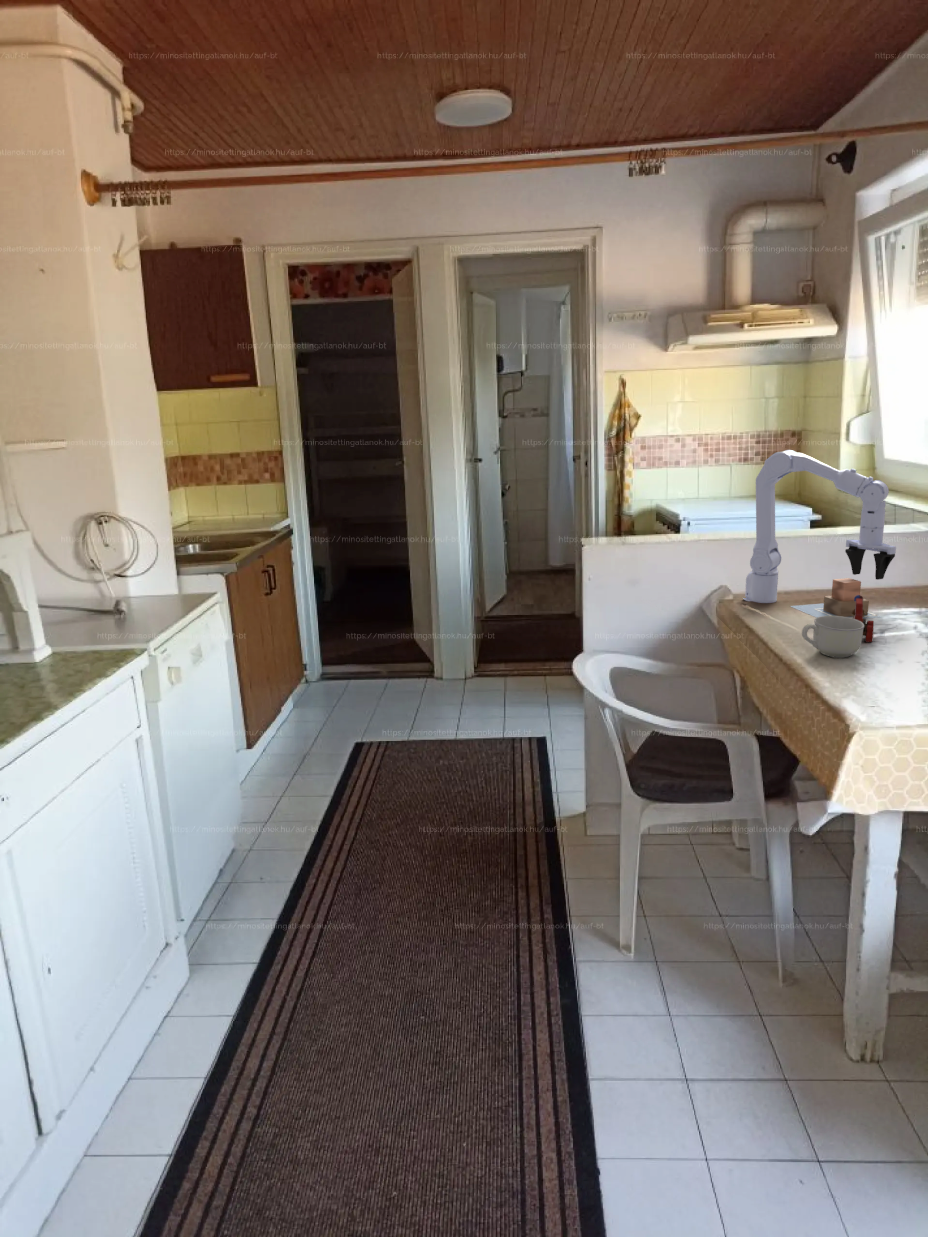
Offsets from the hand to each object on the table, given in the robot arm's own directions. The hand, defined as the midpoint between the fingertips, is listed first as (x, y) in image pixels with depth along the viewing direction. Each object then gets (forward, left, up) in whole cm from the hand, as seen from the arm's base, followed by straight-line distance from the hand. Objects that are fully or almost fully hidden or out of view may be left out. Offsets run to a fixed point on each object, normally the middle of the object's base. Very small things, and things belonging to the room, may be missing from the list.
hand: (867, 576), depth 228 cm
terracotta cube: (0, -6, -6) cm, 8 cm away
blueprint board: (-2, -8, -10) cm, 13 cm away
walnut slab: (0, -6, -10) cm, 11 cm away
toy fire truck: (+20, -16, -11) cm, 28 cm away
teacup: (+30, -30, -11) cm, 44 cm away
